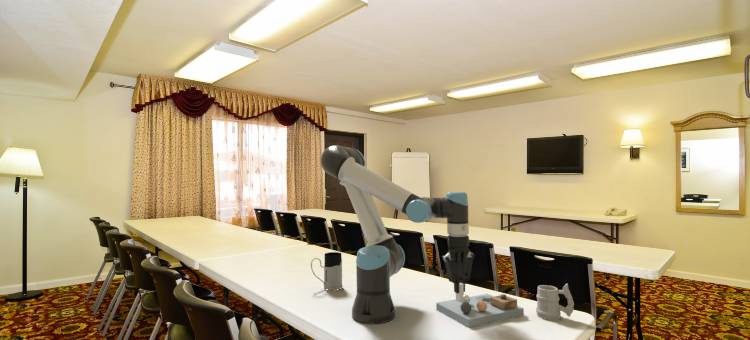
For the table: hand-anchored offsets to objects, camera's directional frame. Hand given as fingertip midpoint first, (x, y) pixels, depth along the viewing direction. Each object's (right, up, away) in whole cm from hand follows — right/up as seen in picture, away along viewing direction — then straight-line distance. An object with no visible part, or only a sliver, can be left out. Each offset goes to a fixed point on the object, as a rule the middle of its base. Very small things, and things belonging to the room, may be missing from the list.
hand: (459, 301), depth 130 cm
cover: (+15, -1, -1) cm, 15 cm away
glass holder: (-51, -6, +30) cm, 60 cm away
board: (+7, -4, 0) cm, 8 cm away
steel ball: (+2, 0, +1) cm, 3 cm away
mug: (+31, -4, -5) cm, 32 cm away
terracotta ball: (+6, 0, -6) cm, 8 cm away
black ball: (0, 0, -7) cm, 7 cm away
